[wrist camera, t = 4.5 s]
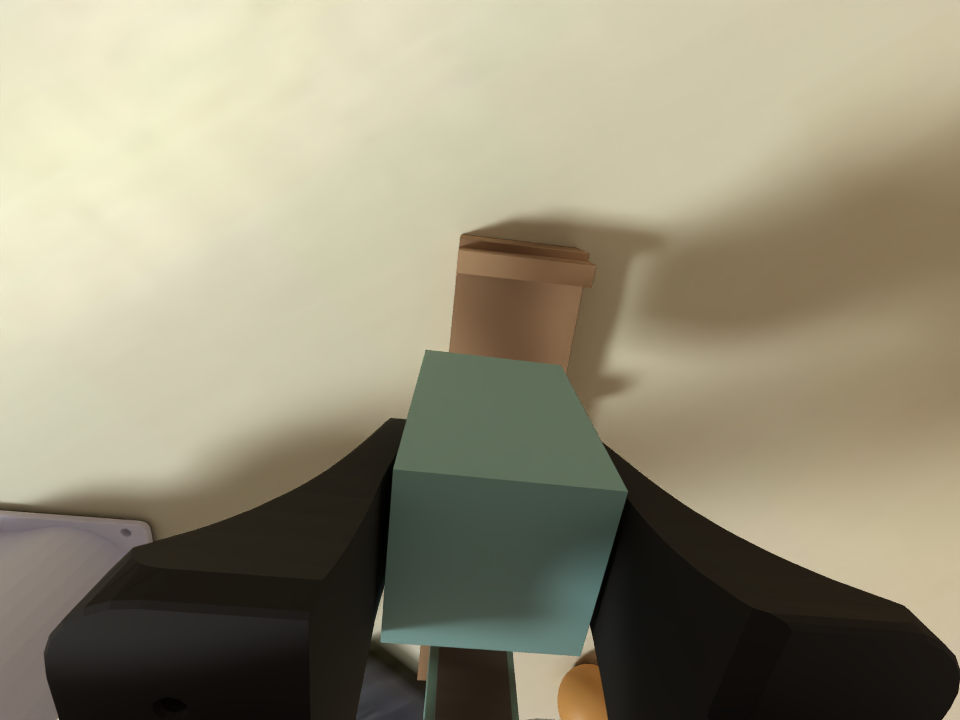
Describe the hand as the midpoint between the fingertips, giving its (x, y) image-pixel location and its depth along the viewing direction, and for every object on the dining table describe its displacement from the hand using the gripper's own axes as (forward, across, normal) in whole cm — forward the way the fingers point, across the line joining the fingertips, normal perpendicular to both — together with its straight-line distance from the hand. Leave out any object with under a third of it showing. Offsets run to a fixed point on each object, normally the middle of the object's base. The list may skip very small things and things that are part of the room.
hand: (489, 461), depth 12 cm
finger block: (+2, 0, 0) cm, 2 cm away
